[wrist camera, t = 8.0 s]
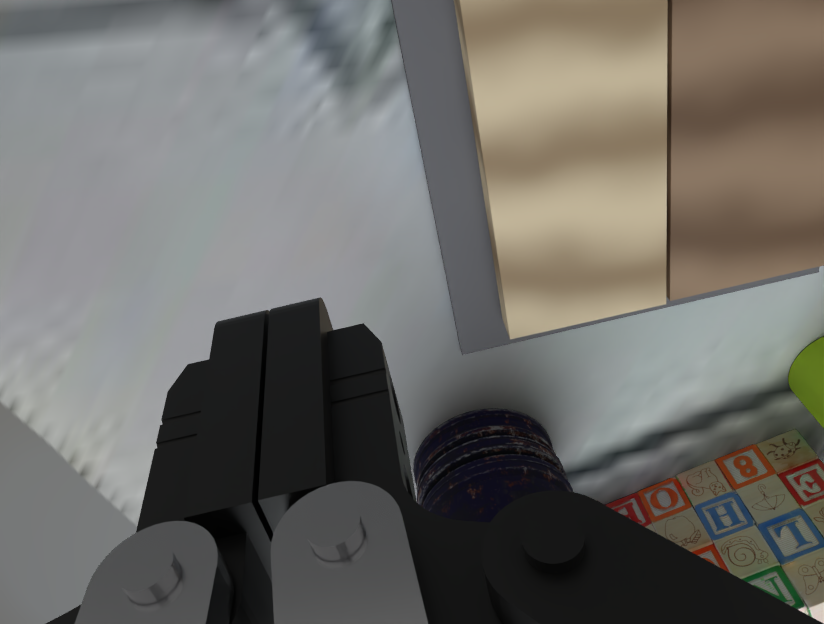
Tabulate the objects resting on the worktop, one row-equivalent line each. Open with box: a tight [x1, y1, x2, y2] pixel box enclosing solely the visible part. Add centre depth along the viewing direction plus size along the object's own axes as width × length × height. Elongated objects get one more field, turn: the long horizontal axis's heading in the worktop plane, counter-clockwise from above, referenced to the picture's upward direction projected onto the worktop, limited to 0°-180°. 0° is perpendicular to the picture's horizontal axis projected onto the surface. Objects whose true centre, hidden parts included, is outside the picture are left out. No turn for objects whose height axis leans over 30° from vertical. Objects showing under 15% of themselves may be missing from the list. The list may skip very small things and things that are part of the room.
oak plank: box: [454, 0, 668, 339], centre depth 37 cm, size 22×9×2 cm, turn 11°
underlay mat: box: [391, 0, 819, 355], centre depth 38 cm, size 26×22×1 cm
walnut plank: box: [666, 0, 824, 301], centre depth 37 cm, size 22×9×2 cm, turn 11°
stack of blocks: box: [605, 429, 824, 623], centre depth 52 cm, size 21×6×12 cm, turn 115°
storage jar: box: [414, 408, 573, 522], centre depth 45 cm, size 10×10×15 cm
